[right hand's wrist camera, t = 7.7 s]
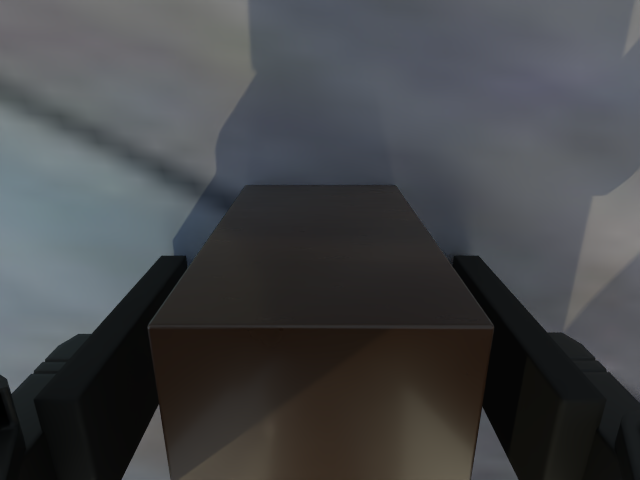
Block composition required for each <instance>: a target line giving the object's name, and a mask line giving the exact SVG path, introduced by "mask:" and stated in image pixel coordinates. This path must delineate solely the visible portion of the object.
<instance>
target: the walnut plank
mask: <svg viewBox="0 0 640 480" xmlns="http://www.w3.org/2000/svg"><path fill="white" fill-rule="evenodd" d="M147 328H148V335H149V341H150V348H151V354H152V361H153V367H154V374H155V380H156V387H157V394H158V400H159V407H160V413H161V420H162V426H163V433H164V439H165V446H166V452H167V459H168V466H169V472H170V479H171V480H471V475H472V468H473V462H474V456H475V449H476V443H477V436H478V430H479V423H480V417H481V410H482V404H483V397H484V391H485V384H486V378H487V371H488V365H489V358H490V352H491V345H492V339H493V333H494V325H493V323H492V322H491V321H490V319H489V318H488V316H487V315H486V314H485V312H484V311H483V309H482V308H481V306H480V305H479V304H478V302H477V301H476V299H475V298H474V296H473V295H472V294H471V292H470V291H469V289H468V288H467V286H466V285H465V284H464V282H463V281H462V279H461V278H460V276H459V275H458V274H457V272H456V271H455V269H454V268H453V266H452V265H451V264H450V262H449V261H448V259H447V258H446V257H445V255H444V254H443V252H442V251H441V249H440V248H439V247H438V245H437V244H436V242H435V241H434V239H433V238H432V237H431V235H430V234H429V232H428V231H427V229H426V228H425V227H424V225H423V224H422V222H421V221H420V219H419V218H418V217H417V215H416V214H415V212H414V211H413V210H412V208H411V207H410V205H409V204H408V202H407V201H406V200H405V198H404V197H403V195H402V194H401V192H400V191H399V190H398V188H397V187H396V186H395V185H246V186H245V187H244V188H243V190H242V191H241V193H240V194H239V195H238V197H237V198H236V200H235V201H234V203H233V204H232V205H231V207H230V208H229V210H228V211H227V213H226V214H225V215H224V217H223V218H222V220H221V221H220V223H219V224H218V225H217V227H216V228H215V230H214V231H213V233H212V234H211V236H210V237H209V238H208V240H207V241H206V243H205V244H204V246H203V247H202V248H201V250H200V251H199V253H198V254H197V256H196V257H195V258H194V260H193V261H192V263H191V264H190V266H189V267H188V268H187V270H186V271H185V273H184V274H183V276H182V277H181V278H180V280H179V281H178V283H177V284H176V286H175V287H174V288H173V290H172V291H171V293H170V294H169V296H168V297H167V298H166V300H165V301H164V303H163V304H162V306H161V307H160V309H159V310H158V311H157V313H156V314H155V316H154V317H153V319H152V320H151V321H150V323H149V324H148V327H147Z"/></svg>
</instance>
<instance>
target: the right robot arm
mask: <svg viewBox="0 0 640 480" xmlns="http://www.w3.org/2000/svg"><path fill="white" fill-rule="evenodd" d="M453 268H454V269H455V271H456V272H457V274H458V275H459V276H460V278H461V279H462V281H463V282H464V284H465V285H466V286H467V288H468V289H469V291H470V292H471V294H472V295H473V296H474V298H475V299H476V301H477V302H478V304H479V305H480V306H481V308H482V309H483V311H484V312H485V314H486V315H487V316H488V318H489V319H490V321H491V322H492V323H493V325H494V333H493V339H492V345H491V352H490V358H489V365H488V371H487V378H486V384H485V391H484V397H483V404H482V407H483V409H484V411H485V413H486V415H487V417H488V419H489V421H490V423H491V425H492V427H493V429H494V431H495V433H496V435H497V437H498V439H499V441H500V443H501V445H502V447H503V449H504V451H505V453H506V455H507V457H508V459H509V461H510V463H511V465H512V467H513V469H514V471H515V473H516V475H517V477H518V479H519V480H640V403H639V402H638V401H637V400H636V399H635V398H634V397H633V396H632V395H631V394H630V393H629V392H628V391H627V390H626V389H625V388H624V387H623V386H622V385H621V384H620V383H619V382H618V381H617V380H616V379H615V378H614V377H613V376H612V375H611V374H610V373H609V372H607V371H606V368H605V367H604V366H603V365H602V364H601V363H600V362H599V361H596V360H595V357H594V356H593V355H592V354H591V353H590V352H589V351H588V350H587V349H586V348H585V347H584V346H583V345H582V344H580V343H579V342H577V341H575V340H574V339H572V338H570V337H569V336H567V335H565V334H563V333H547V332H546V331H545V330H544V329H543V327H542V326H541V325H540V324H539V323H538V322H537V321H536V320H535V319H534V317H533V316H532V315H531V314H530V313H529V312H528V311H527V310H526V308H525V307H524V306H523V305H522V304H521V303H520V302H519V301H518V299H517V298H516V297H515V296H514V295H513V294H512V293H511V292H510V291H509V289H508V288H507V287H506V286H505V285H504V284H503V283H502V282H501V280H500V279H499V278H498V277H497V276H496V275H495V274H494V273H493V271H492V270H491V269H490V268H489V267H488V266H487V265H486V264H485V263H484V261H483V260H482V259H481V258H480V257H479V256H454V261H453ZM186 270H187V261H186V256H161V257H160V258H159V259H158V260H157V261H156V263H155V264H154V265H153V266H152V267H151V268H150V269H149V270H148V271H147V273H146V274H145V275H144V276H143V277H142V278H141V279H140V280H139V282H138V283H137V284H136V285H135V286H134V287H133V288H132V289H131V291H130V292H129V293H128V294H127V295H126V296H125V297H124V298H123V299H122V301H121V302H120V303H119V304H118V305H117V306H116V307H115V308H114V310H113V311H112V312H111V313H110V314H109V315H108V316H107V317H106V319H105V320H104V321H103V322H102V323H101V324H100V325H99V326H98V327H97V329H96V330H95V331H94V332H93V333H92V334H78V335H76V336H74V337H73V338H71V339H69V340H68V341H66V342H64V343H62V344H61V345H59V346H58V347H57V348H56V349H55V350H54V351H53V352H52V353H51V354H50V355H49V356H48V357H47V358H46V359H45V362H42V363H41V364H40V365H39V366H38V367H37V368H36V369H35V370H34V374H31V375H30V376H29V377H28V378H27V379H26V380H25V381H24V382H23V383H22V384H21V385H20V386H19V387H18V388H17V389H16V390H15V391H14V392H13V393H12V394H11V392H10V388H9V385H8V381H7V379H6V378H4V377H3V376H1V375H0V480H121V479H122V477H123V475H124V473H125V471H126V469H127V467H128V465H129V463H130V461H131V459H132V457H133V455H134V453H135V451H136V449H137V447H138V445H139V443H140V441H141V439H142V437H143V435H144V433H145V431H146V429H147V427H148V425H149V423H150V421H151V419H152V417H153V415H154V413H155V411H156V409H157V407H158V405H159V400H158V394H157V387H156V380H155V374H154V367H153V361H152V354H151V348H150V341H149V335H148V328H147V327H148V324H149V323H150V321H151V320H152V319H153V317H154V316H155V314H156V313H157V311H158V310H159V309H160V307H161V306H162V304H163V303H164V301H165V300H166V298H167V297H168V296H169V294H170V293H171V291H172V290H173V288H174V287H175V286H176V284H177V283H178V281H179V280H180V278H181V277H182V276H183V274H184V273H185V271H186Z"/></svg>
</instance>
